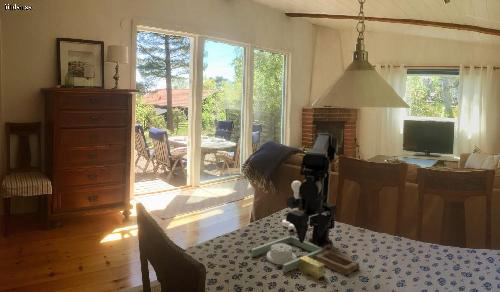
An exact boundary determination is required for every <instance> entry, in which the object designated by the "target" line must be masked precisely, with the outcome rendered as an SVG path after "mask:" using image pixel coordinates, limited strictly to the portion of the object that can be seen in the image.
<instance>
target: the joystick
mask: <svg viewBox="0 0 500 292" xmlns="http://www.w3.org/2000/svg"><path fill="white" fill-rule="evenodd" d="M301 184H302V182H301V181H300V180H293V181H292V183H291V185H290V186H291V187H290V188H291V189H292V191H293V196H294V197H295V198H298V197H299V195H300V193H299V187H300V185H301ZM295 210H297V211H299V208H293V209H292V211H295ZM281 225H282V227H284V228H288V231H291V230H293V232H296V233H297V231H296V229H295V226H294V225H293V224H291V223H289V222H288V221H286V218H285V219H282V220H281Z"/></svg>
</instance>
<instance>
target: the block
mask: <svg viewBox="0 0 500 292" xmlns="http://www.w3.org/2000/svg"><path fill="white" fill-rule="evenodd" d="M302 256H303V257H302ZM302 256H300V257H301V258H300V257H298V258H299V267H298V270H299V271H301V272H304V273H306V274H308V275H310V276H312V277H314V278H316V279H321V278H323V277H324V276H325V267H326V266H325V264H323V263H321V262H319V261H316V260H314V259H312V258H309V257H307V256H305V255H302Z"/></svg>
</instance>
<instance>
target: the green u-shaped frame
mask: <svg viewBox="0 0 500 292" xmlns="http://www.w3.org/2000/svg"><path fill="white" fill-rule="evenodd" d="M279 243H281V244H282V243H284V244H286V245H290V244H291V245H294V246H296V247H300V248H302V249H304V250H306V251H308V252H310V253H308V254H306V255H302V256H300V257H297V258H296V259H295V260H293V261H290V262H288V263H285V264H283V265H282V273H285V274H286V273H288V272H291V271H293V270H295V269H297V268H299V258H301V257H303V256H307V257H309V258H312V259H314V260H315V256H316V255H319V254H321V253H323V252H326V251H325V250H326V249H325V248H323V247H320V246H318V245H316V244H313V243H312V242H311V243H310V242H309V241H306V240H304V242H303V243H301V242H300V241H299V238H298V237H296V236H294V235H288V236H285V237H282V238H280V239H277V240H274V241H273V240H272V241H271V242H268V243H265V244H262V245H258V246H256V247H253V248H251V251H250V252H251V253H250V257H256V256H260V255H262V254H264V253H268V252H269V251H270V250H271V246H272V245H275V244H279Z"/></svg>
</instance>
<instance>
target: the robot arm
mask: <svg viewBox="0 0 500 292" xmlns="http://www.w3.org/2000/svg"><path fill="white" fill-rule="evenodd" d="M338 151H339V141H338V139H336V138H335V137H334V136H333V134H331V133H328V132H318V133H316V137H314V140H313V146H312V148H308V149H307V150H306V151H305V154H303V156H302V161H301V166H300V171H299V175H300V176H304V180H303V181H302V182H301V185H300V187H299V195H300V197H299V196H298V198H295V197H294V195H293V196H288V197H286V206H287V208H290V210H291V211H289V212H287V213H286V214H285V219H286V221H288V222H289V223H291V224H293V225H294V226H295V229H296V231H297V232H296V234H297V238H299V241H300V242H301V243H303V242H304V241H305V238H306V235H307V234H308V229H309V227H312V232H311V233H312V234H311V235H312V236H311V237H312V238H309V239H308V242H311V243H315V244H317V245H320V246H325V245H326V244H329V243H332V242H333V240H332V239H330V230H332V229H334V228H335V222H336V221H335V220H336V219H335V215H337V214H338V208H337V206H336V205H335V204H332V203H330V202H329V196H330V195H329V193H330V182H331V180H330V179H331V168H332V167H331V166H332V165H331V164H332V162H334V160H335V158H336V156H337V154H338ZM293 208H298V211H297V210H295V211H293Z"/></svg>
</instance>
